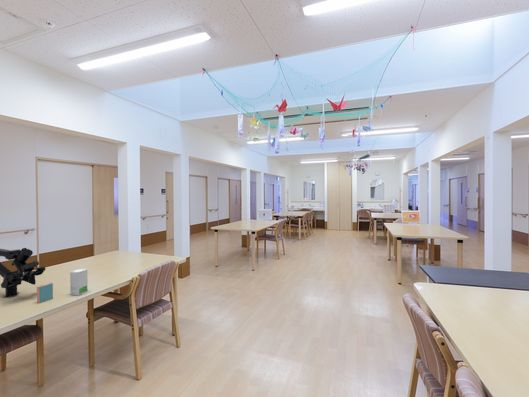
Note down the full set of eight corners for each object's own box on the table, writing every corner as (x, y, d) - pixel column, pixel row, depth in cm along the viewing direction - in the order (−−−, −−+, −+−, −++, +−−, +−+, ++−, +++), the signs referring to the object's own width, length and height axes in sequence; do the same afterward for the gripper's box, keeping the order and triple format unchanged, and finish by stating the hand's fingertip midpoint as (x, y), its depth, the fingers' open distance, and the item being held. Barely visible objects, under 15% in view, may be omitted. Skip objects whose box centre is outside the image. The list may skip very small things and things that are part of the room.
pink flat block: (36, 302, 167) (36, 286, 166) (50, 297, 174) (50, 282, 174) (39, 303, 166) (39, 287, 166) (53, 298, 174) (53, 282, 173)
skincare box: (78, 295, 178) (78, 272, 178) (69, 295, 179) (69, 271, 178) (88, 291, 186) (88, 268, 186) (79, 290, 187) (79, 268, 187)
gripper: (11, 261, 164) (24, 280, 162) (43, 254, 182) (56, 271, 180) (2, 272, 167) (15, 292, 164) (35, 265, 185) (47, 282, 182)
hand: (34, 284), depth 172 cm, fingers closed
